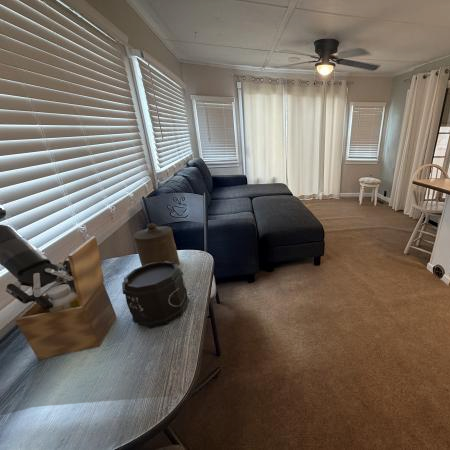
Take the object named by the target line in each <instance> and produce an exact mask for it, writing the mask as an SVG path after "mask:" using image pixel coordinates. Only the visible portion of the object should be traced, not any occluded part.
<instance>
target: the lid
mask: <svg viewBox="0 0 450 450" xmlns="http://www.w3.org/2000/svg"><path fill="white" fill-rule="evenodd" d="M67 258H68V261H69V263H70V267H71V271H72V275H73V280H74V284H75V288H76V292H77V297H78V301H79V305H80V307H81V306H84V305H85V304H86V302H87V301H88V300H89V299H90V298H91V296H92V295H93V294H94V293H95V291H96V290H97V289H98V288H99V286H100V285H101V284H102V283H104V282H105V278H104V272H103V267H102V262H101V261H102V260H101V257H100V250H99V246H98V241H97V236H96V235H92V236H91V237H90V238H89V239H87V240H86V241H85V242H83V243H82V244H81V245H79V246H78V247H77V248H76V249H74V250H73V251H72V252H70V254H68V255H67Z"/></svg>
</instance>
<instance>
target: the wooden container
mask: <svg viewBox="0 0 450 450" xmlns="http://www.w3.org/2000/svg"><path fill="white" fill-rule="evenodd" d="M133 239H134V243H135V246H136V249H137V254H138V258H139V261H140V265H141V266H144V265H146V264H149V263H155V262H161V261H163V262H165V261H167V262H173V263H175V264H176V265H179V266H180V265H181V263H180V258H179V253H178V249H177V246H176V242H175V238H174V233H173V230H172V228H171V226H167V225H158V226H157V224H155V223H153V222H151V223H149V224H147V225H146V228H144V229H141V230H139V231H137V232H135V233H134V234H133Z"/></svg>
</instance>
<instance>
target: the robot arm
mask: <svg viewBox="0 0 450 450" xmlns="http://www.w3.org/2000/svg"><path fill="white" fill-rule="evenodd" d="M6 216H7V210H6V208H5V207H4V206H3V205H2V204H1V203H0V221H1V220H3V219H4V218H6ZM65 260H66V259H65ZM0 266H2V267H4V269H6V270H7V271H8V272H9V273H10V274H11V275H12V276H13V277H14V278H16V279H17V281H16V282H14V283H7V285H6V287H5V292H6V293H7V294H9V295H11V296H12V297H13V298H15V299H16V300H17V301H19V302H20V303H21V304H22V305H23V304H24V305H26V304H29V303H31V302H34V303H35V302H37V303H38V304H39V305H40V306H41V307H42V308H44V309H46V308H47V309H51V308H52V307H53V304H52V303H51V302H50V301H49V300H48V299H47V298H46V297H44V296H42V293H41V292H42V291H41V289H43V288H44V287H46V286H47V285H49V284H50V285H51V284H52V283H63V284H68V285H69V287H70V288H71V289H72V290H73V291H75V292H76V288H75V284H74V280H73V275H72V271H71V267H70V263H69V259H67V260H66V261H64V263H61V264H59V263H58V264H56V263H53V262H52V261H51V260H50V259H49V258H48V257H47V256H46V255H45V254H43V253H42V252H41V250H39V249H38V248H37V247H36V246H35V245H34V244H33V243H32V242H30V241H29V240H27V239H26V238H25V237H24V236H23V235H22V234H21V233H19V231H18V230H17V229H15V228H14V227H13V226H12V225H9V224H0ZM58 269H62V270H61V271H63V270H65V271H64V272H66V273H67V274H66V273H64V272H61V271H59V270H58ZM22 286H24V287H29V288H31V294H30V295H29V294H28V293H26V292H25V291H24V290H22ZM76 293H77V292H76Z"/></svg>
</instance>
